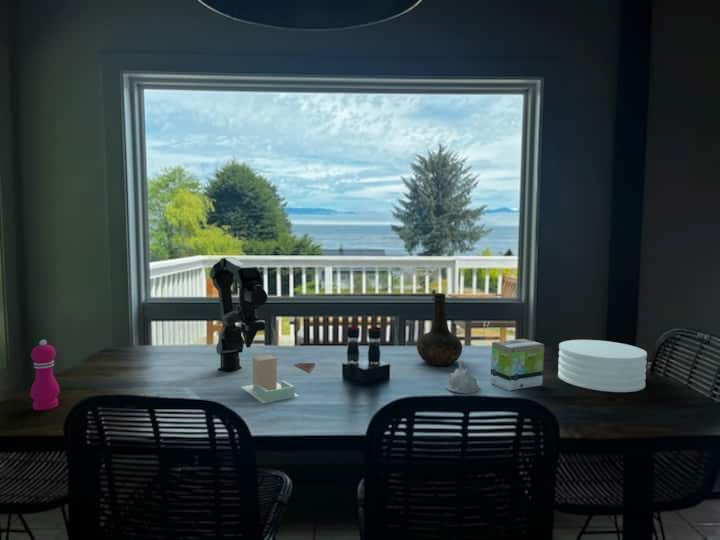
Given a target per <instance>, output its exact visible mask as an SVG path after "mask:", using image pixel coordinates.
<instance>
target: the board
mask: <svg viewBox="0 0 720 540" xmlns="http://www.w3.org/2000/svg"><path fill="white" fill-rule="evenodd" d="M295 387H296V386H294V385H293V384H291V383H290V382H288V381H287V380H281V381H280V383H279V382H277V389H273V390H267V389H265V388H264V387H262V386H261V385H256V390H255V389H254V388H253V384H250V385H243V386H240V388H241V389H242V390H244V391H245V392H246V393H248V394H250V395H251V396H252V397H254V398H255V399H257V401H259V402H260V403H262V404H265V403H270V402H275V401H280V400H281V401H282V400H285V399H286V400H287V399H291V398H296V397H299V396H300V395H299V394H297V393H296V391H295Z"/></svg>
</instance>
